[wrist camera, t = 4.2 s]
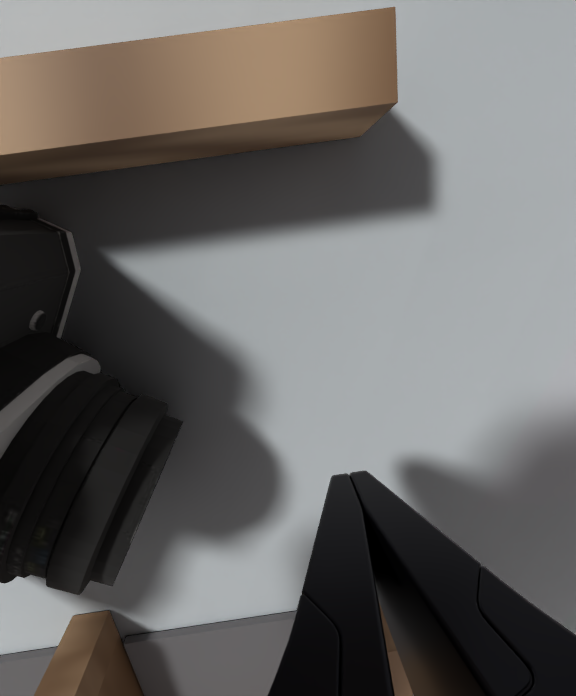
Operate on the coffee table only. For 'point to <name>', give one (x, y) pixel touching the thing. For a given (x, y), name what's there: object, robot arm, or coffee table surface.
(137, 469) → the camera
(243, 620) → the mats
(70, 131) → the trap box
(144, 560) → the coffee table surface
